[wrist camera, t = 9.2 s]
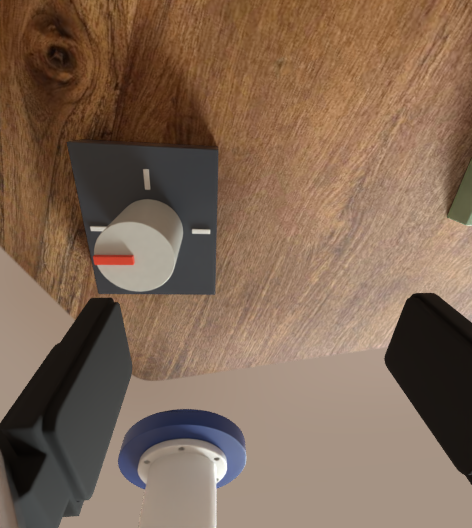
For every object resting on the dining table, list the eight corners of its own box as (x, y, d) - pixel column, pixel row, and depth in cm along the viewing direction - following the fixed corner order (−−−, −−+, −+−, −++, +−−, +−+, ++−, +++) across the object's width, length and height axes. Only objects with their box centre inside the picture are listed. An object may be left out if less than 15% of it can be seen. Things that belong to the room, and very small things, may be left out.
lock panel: (215, 280, 27) (215, 295, 24) (108, 279, 26) (97, 295, 24) (217, 146, 21) (218, 149, 19) (82, 139, 20) (64, 142, 18)
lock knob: (181, 199, 20) (171, 223, 16) (184, 258, 23) (176, 294, 18) (114, 198, 20) (83, 222, 15) (124, 257, 22) (100, 294, 18)
